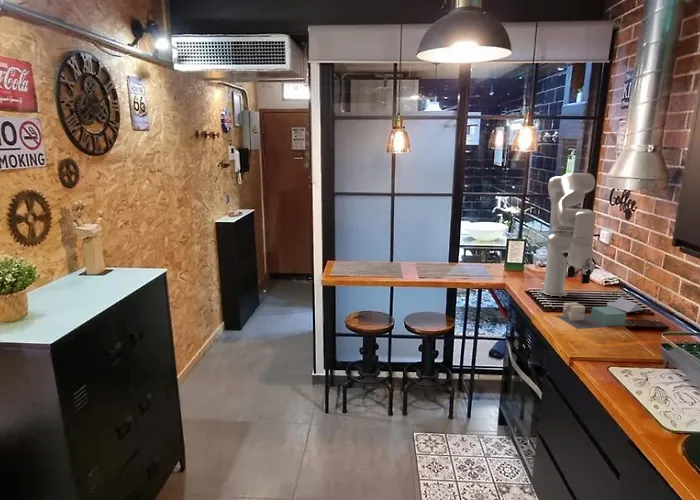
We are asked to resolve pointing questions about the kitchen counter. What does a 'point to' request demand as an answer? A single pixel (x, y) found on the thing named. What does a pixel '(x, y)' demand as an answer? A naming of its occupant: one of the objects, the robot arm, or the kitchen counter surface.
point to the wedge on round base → (624, 305)
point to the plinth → (608, 316)
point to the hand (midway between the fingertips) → (577, 280)
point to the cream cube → (573, 311)
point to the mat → (586, 322)
